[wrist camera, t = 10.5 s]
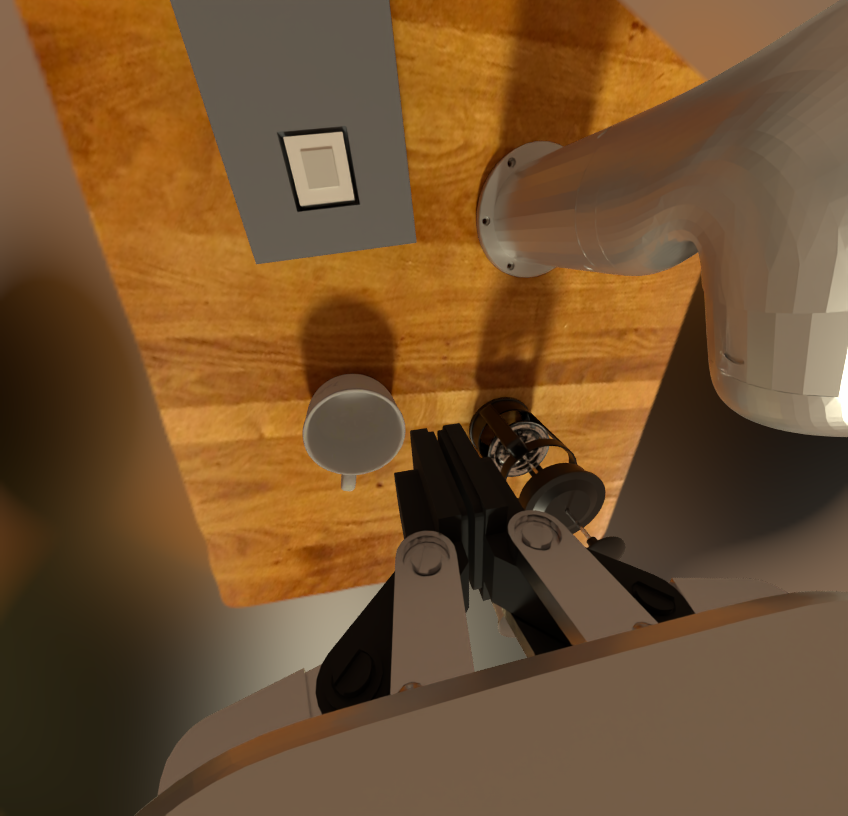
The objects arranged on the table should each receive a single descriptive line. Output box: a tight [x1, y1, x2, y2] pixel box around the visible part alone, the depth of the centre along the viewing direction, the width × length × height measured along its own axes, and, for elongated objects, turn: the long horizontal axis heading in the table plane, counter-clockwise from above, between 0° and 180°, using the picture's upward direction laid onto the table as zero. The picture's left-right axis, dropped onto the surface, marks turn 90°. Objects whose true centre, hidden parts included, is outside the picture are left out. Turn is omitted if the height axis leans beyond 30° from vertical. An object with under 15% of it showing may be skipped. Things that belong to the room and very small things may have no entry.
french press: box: [469, 397, 625, 560], centre depth 38 cm, size 12×9×23 cm
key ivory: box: [283, 132, 354, 209], centre depth 27 cm, size 4×4×3 cm
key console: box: [170, 0, 416, 264], centre depth 26 cm, size 14×24×6 cm, turn 7°
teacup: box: [303, 374, 405, 491], centre depth 39 cm, size 14×11×8 cm
